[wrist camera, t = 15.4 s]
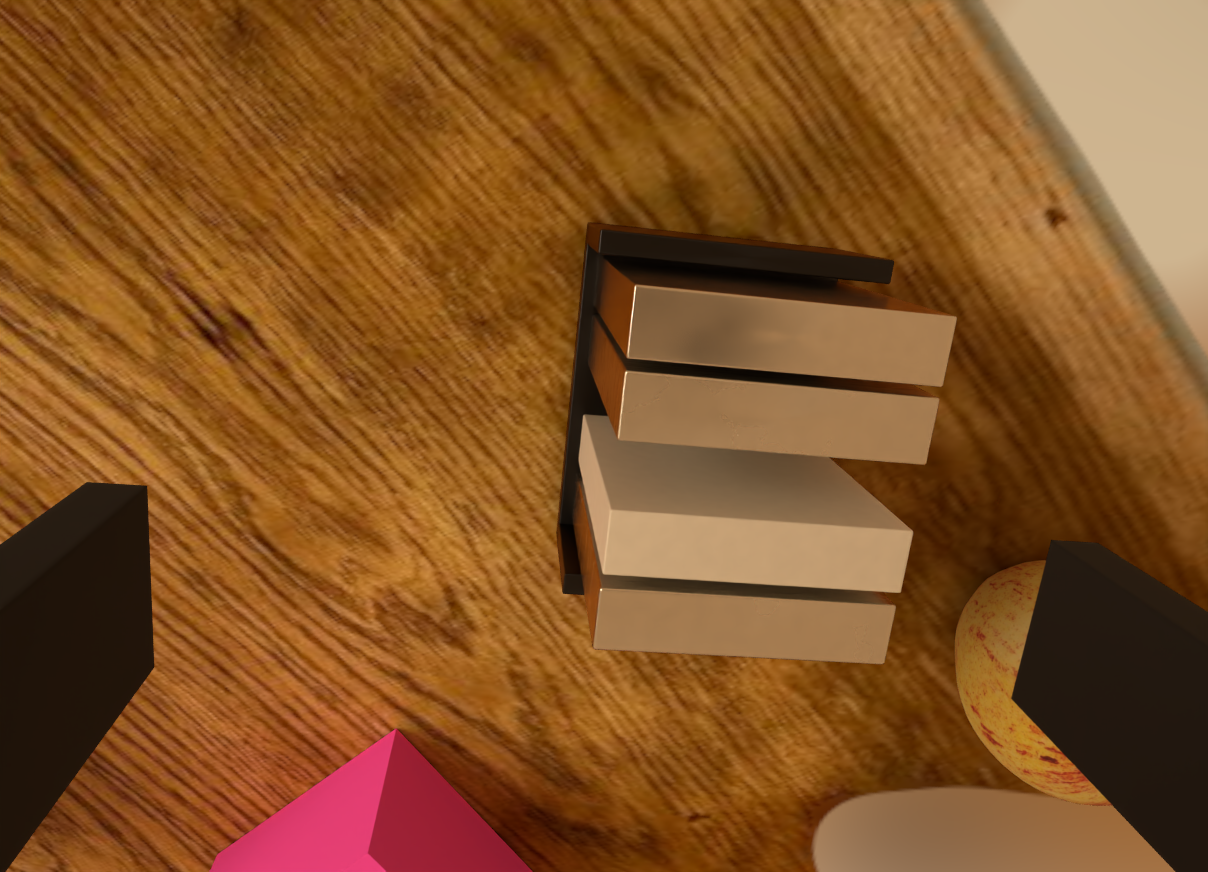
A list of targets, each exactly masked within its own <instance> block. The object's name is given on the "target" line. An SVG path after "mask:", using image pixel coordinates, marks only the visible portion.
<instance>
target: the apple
mask: <svg viewBox="0 0 1208 872" xmlns="http://www.w3.org/2000/svg"><path fill="white" fill-rule="evenodd" d="M1045 563H1046V560H1040V561H1030V562H1025V563H1021V564H1018V565H1015V566H1012V567H1010V568H1007V569H1004V570H1002V571H1000V572H998V573H996V574H994V575H992V576H990V577H989V578H987V579H986V580H985V581H984V582H983V583H982V584H981V585H980V586H979V587H978V589H977V590H976V591H975V592H974V594H973V595H972V596H971V598H970V599H969V601H968V602H967V604H966V605H965V607H964V609H963V611H962V613H961V616H960V619H959V622H958V625H957V629H956V634H955V666H956V678H957V686H958V691H959V695H960V699H961V702H962V705H963V707H964V710H965V713H966V715H967V717H968V720H969V722H970V723H971V725H972V727H973V729H974V731H975V732H976V734H977V735H978V737H979V738H980V739H981V741H982V742H983V743H984V745H985V746H986V747H987V748H988V750H989V751H990V752H991V753H992V754H993V755H994V756H995V757H996V758H997V759H998V760H999V761H1000V762H1001V763H1002V764H1003V765H1004V766H1005V767H1006V768H1007V769H1008V770H1010V771H1011V772H1012V773H1013V774H1015V775H1016V776H1017V777H1019V778H1020V779H1021V780H1023V781H1024V782H1026V783H1027V784H1029V785H1031V786H1032V787H1034V788H1036V789H1038V790H1040V791H1042V792H1044V793H1046V794H1048V795H1051V796H1053V797H1056V798H1059V799H1062V800H1065V801H1068V802H1072V803H1076V804H1084V805H1093V806H1103V805H1104V806H1106V805H1112V804H1111V803H1110V802H1109V801H1108V800H1107V799H1106V798H1105V797H1104V796H1103V795H1102V794H1101V793H1100V792H1099V791H1098V790H1097V789H1096V788H1095V786H1094V785H1093V784H1092V783H1091V782H1090V781H1089V780H1088V779H1087V778H1086V777H1085V776H1084V775H1083V774H1082V773H1081V772H1080V771H1079V770H1078V769H1077V768H1076V766H1075V765H1074V764H1073V763H1072V762H1071V761H1070V760H1069V759H1068V758H1067V757H1066V756H1065V755H1064V754H1063V753H1062V752H1061V751H1060V750H1059V749H1058V748H1057V747H1056V745H1055V744H1054V743H1053V742H1052V741H1051V740H1050V739H1049V738H1048V737H1047V736H1046V735H1045V734H1044V733H1043V732H1042V731H1041V730H1040V729H1039V728H1038V727H1037V725H1036V724H1035V723H1034V722H1033V721H1032V720H1031V719H1030V718H1029V717H1028V716H1027V715H1026V714H1025V713H1024V712H1023V711H1022V710H1021V709H1020V708H1019V707H1018V706H1017V704H1016V703H1015V702H1014V701H1013V700H1012V699H1011V697H1012V693H1013V689H1014V685H1015V681H1016V677H1017V673H1018V669H1019V665H1020V662H1021V658H1022V654H1023V650H1024V646H1025V642H1026V638H1027V634H1028V630H1029V626H1030V622H1031V618H1032V614H1033V610H1034V606H1035V603H1036V599H1037V595H1038V591H1039V587H1040V583H1041V579H1042V575H1043V571H1044V567H1045Z"/></svg>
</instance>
